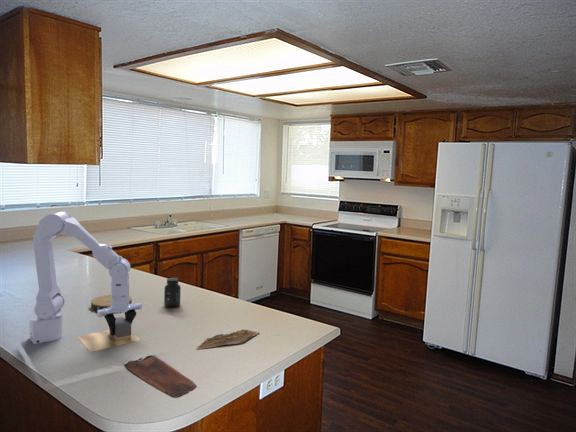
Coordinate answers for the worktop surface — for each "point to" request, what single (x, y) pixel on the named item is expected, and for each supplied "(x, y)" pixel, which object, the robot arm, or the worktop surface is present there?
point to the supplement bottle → (172, 293)
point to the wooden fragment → (227, 339)
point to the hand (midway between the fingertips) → (120, 332)
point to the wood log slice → (103, 302)
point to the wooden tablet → (161, 376)
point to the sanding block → (122, 329)
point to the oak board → (103, 340)
